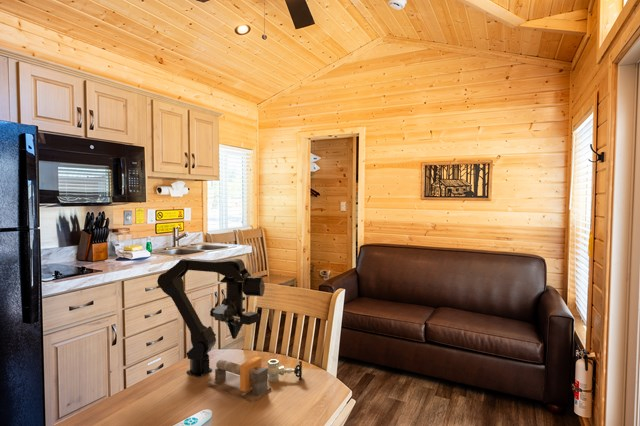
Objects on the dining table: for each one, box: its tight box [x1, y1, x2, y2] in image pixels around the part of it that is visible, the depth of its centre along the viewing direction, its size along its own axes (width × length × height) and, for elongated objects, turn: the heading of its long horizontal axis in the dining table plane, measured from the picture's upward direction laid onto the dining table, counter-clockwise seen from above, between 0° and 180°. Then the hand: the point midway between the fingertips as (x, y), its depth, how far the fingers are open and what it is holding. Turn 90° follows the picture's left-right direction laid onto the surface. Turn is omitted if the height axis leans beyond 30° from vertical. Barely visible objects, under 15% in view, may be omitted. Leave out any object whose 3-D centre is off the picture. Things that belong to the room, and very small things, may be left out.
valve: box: [267, 358, 303, 383], centre depth 131 cm, size 7×7×12 cm
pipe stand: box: [206, 358, 272, 403], centre depth 125 cm, size 20×9×8 cm, turn 59°
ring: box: [239, 356, 262, 392], centre depth 123 cm, size 2×8×8 cm, turn 149°
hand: (234, 338), depth 134 cm, fingers closed
